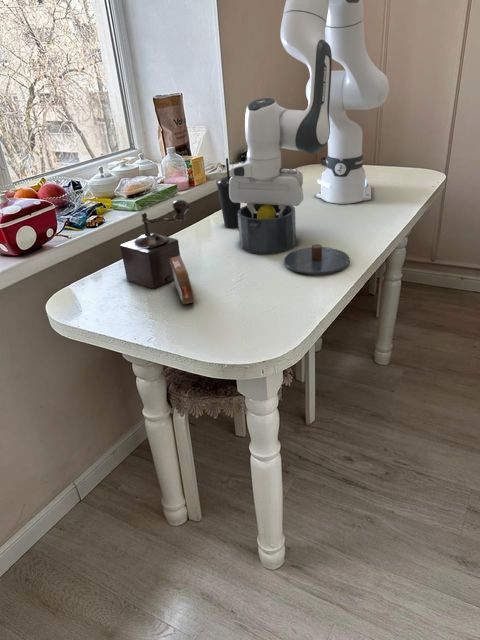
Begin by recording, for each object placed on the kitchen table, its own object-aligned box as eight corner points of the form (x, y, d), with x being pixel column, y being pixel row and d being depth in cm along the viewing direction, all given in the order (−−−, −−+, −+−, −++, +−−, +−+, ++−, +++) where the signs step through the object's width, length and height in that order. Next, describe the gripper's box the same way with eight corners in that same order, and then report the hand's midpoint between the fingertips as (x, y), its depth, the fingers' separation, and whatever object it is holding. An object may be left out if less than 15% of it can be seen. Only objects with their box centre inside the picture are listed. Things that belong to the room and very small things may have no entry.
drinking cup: (230, 220, 170) (224, 154, 159) (249, 223, 166) (245, 156, 155) (215, 227, 165) (208, 160, 154) (234, 231, 161) (229, 162, 150)
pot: (227, 255, 145) (224, 221, 140) (255, 229, 162) (253, 197, 157) (282, 260, 140) (281, 225, 135) (305, 232, 157) (304, 200, 152)
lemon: (275, 235, 146) (274, 207, 142) (255, 235, 147) (254, 206, 143) (279, 228, 151) (278, 200, 146) (260, 228, 152) (258, 200, 148)
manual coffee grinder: (155, 290, 128) (142, 217, 119) (125, 280, 134) (111, 209, 125) (200, 268, 139) (191, 198, 129) (170, 259, 145) (160, 192, 135)
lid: (275, 272, 134) (275, 255, 131) (295, 248, 147) (295, 232, 144) (341, 279, 128) (341, 261, 126) (355, 253, 141) (356, 237, 139)
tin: (196, 308, 119) (191, 274, 115) (182, 311, 119) (176, 276, 114) (185, 282, 132) (180, 249, 127) (172, 284, 131) (167, 251, 126)
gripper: (306, 166, 139) (306, 218, 146) (233, 163, 145) (237, 213, 153) (299, 172, 134) (299, 225, 141) (224, 169, 140) (228, 220, 148)
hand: (267, 219), depth 147 cm, fingers closed on lemon, 5 cm apart
